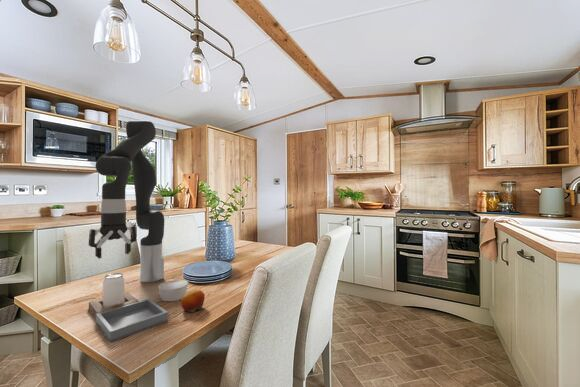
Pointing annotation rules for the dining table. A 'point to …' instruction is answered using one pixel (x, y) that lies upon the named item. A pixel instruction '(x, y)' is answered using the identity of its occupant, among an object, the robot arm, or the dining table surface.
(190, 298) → the fruit
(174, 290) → the ramekin
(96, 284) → the dining table surface
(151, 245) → the robot arm
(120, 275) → the can
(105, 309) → the square wooden frame
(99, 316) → the tray
